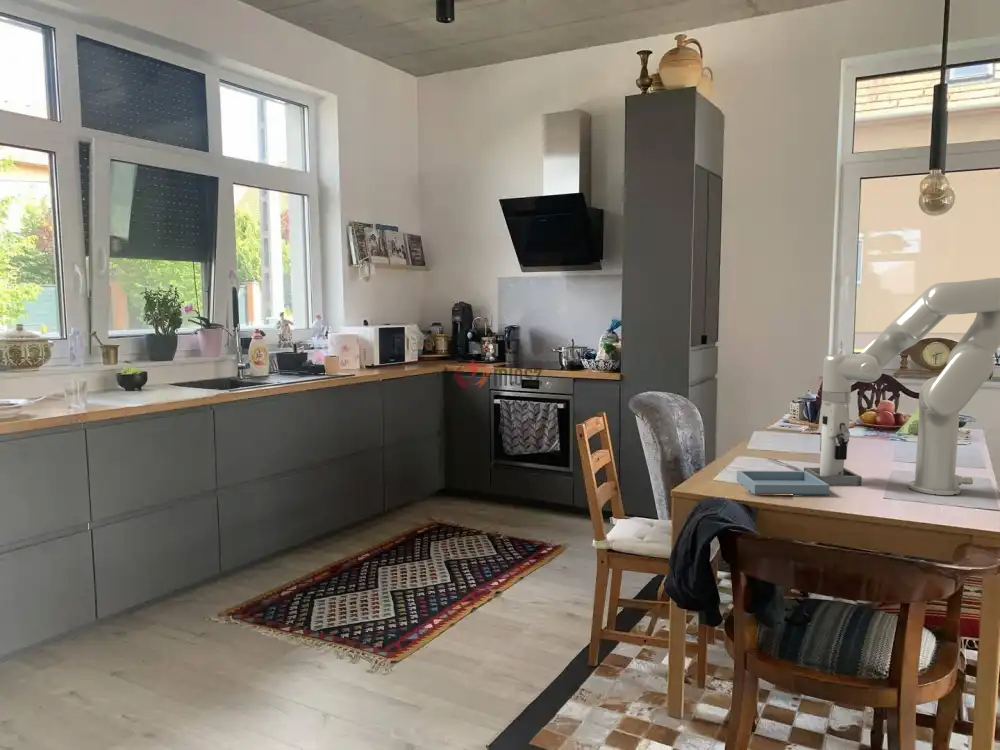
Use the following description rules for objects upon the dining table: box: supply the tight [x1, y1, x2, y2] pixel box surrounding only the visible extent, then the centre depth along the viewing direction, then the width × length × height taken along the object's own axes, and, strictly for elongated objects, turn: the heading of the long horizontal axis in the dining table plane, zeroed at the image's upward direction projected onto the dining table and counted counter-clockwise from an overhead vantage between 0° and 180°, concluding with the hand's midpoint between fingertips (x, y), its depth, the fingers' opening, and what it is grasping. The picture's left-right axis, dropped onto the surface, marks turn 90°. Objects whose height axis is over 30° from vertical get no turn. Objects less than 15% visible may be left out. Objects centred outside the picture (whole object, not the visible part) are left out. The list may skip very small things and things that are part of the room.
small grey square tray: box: [803, 467, 863, 486], centre depth 217 cm, size 12×11×2 cm
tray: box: [736, 470, 831, 497], centre depth 208 cm, size 20×16×3 cm
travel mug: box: [819, 416, 845, 476], centre depth 216 cm, size 6×7×20 cm
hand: (832, 455), depth 216 cm, fingers open, 9 cm apart
